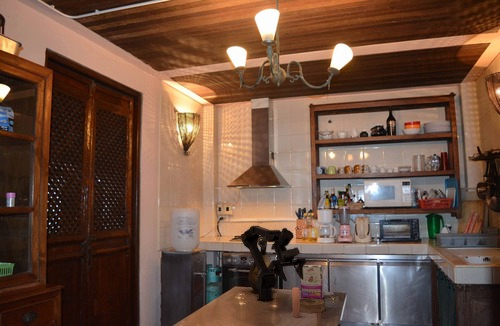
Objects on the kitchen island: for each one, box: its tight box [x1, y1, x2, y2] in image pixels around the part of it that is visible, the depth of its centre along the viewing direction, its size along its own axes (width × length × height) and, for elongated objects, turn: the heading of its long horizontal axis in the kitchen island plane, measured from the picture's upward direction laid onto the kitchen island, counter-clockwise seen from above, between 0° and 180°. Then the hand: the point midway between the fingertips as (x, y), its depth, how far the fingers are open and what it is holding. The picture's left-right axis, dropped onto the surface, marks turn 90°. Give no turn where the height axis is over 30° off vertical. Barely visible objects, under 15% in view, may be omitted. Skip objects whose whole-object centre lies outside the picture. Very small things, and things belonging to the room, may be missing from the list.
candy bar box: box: [300, 264, 324, 300], centre depth 206 cm, size 11×5×16 cm, turn 73°
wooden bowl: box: [299, 298, 326, 314], centre depth 183 cm, size 12×12×4 cm
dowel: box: [291, 287, 301, 318], centre depth 172 cm, size 3×3×12 cm
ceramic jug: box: [247, 236, 277, 295], centre depth 221 cm, size 17×15×30 cm
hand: (294, 280), depth 180 cm, fingers open, 9 cm apart
